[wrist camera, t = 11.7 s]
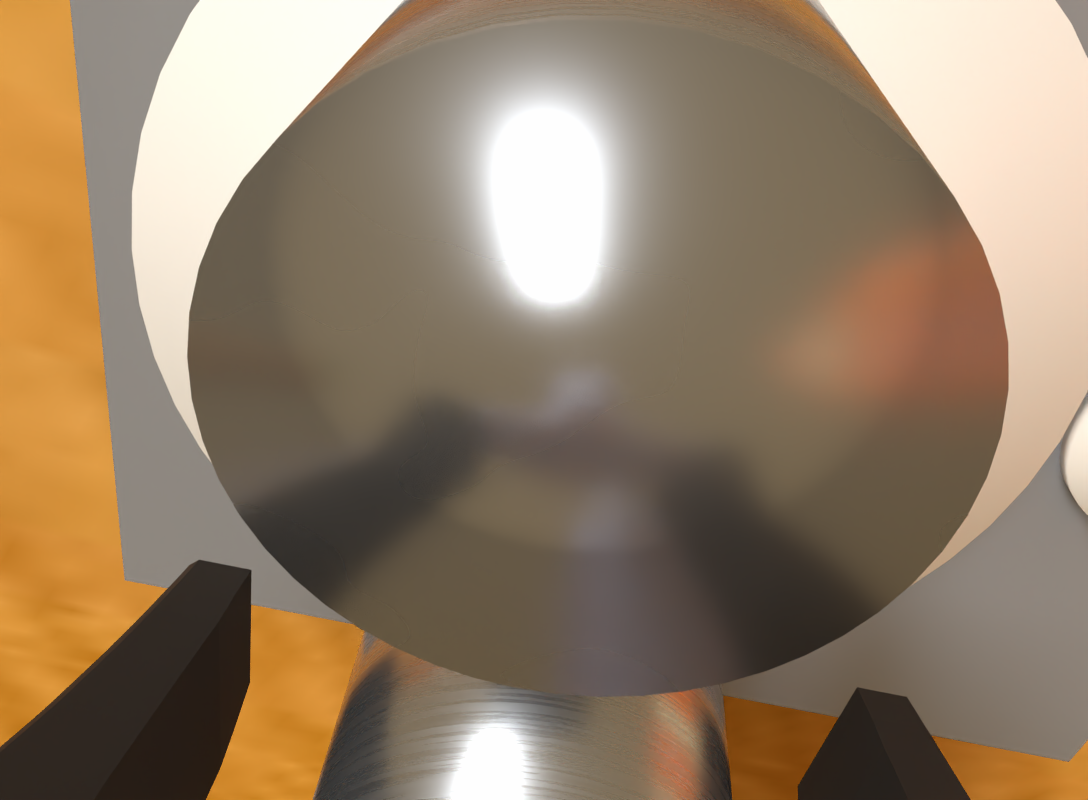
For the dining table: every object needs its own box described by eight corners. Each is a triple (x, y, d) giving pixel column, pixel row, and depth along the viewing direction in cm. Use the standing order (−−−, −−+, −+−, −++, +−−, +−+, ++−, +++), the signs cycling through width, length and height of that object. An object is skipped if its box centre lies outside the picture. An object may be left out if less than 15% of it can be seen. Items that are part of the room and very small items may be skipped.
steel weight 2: (761, 472, 13) (835, 919, 8) (643, 673, 15) (645, 1107, 11) (442, 375, 12) (314, 789, 8) (375, 599, 15) (246, 1017, 10)
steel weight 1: (873, -114, 9) (1158, 65, 4) (778, 306, 12) (881, 728, 7) (398, -150, 9) (113, -22, 4) (408, 271, 12) (241, 660, 7)
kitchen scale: (1556, -128, 12) (1894, -79, 8) (1015, 633, 20) (1085, 802, 16) (160, -459, 11) (-32, -540, 8) (192, 470, 19) (103, 614, 16)
